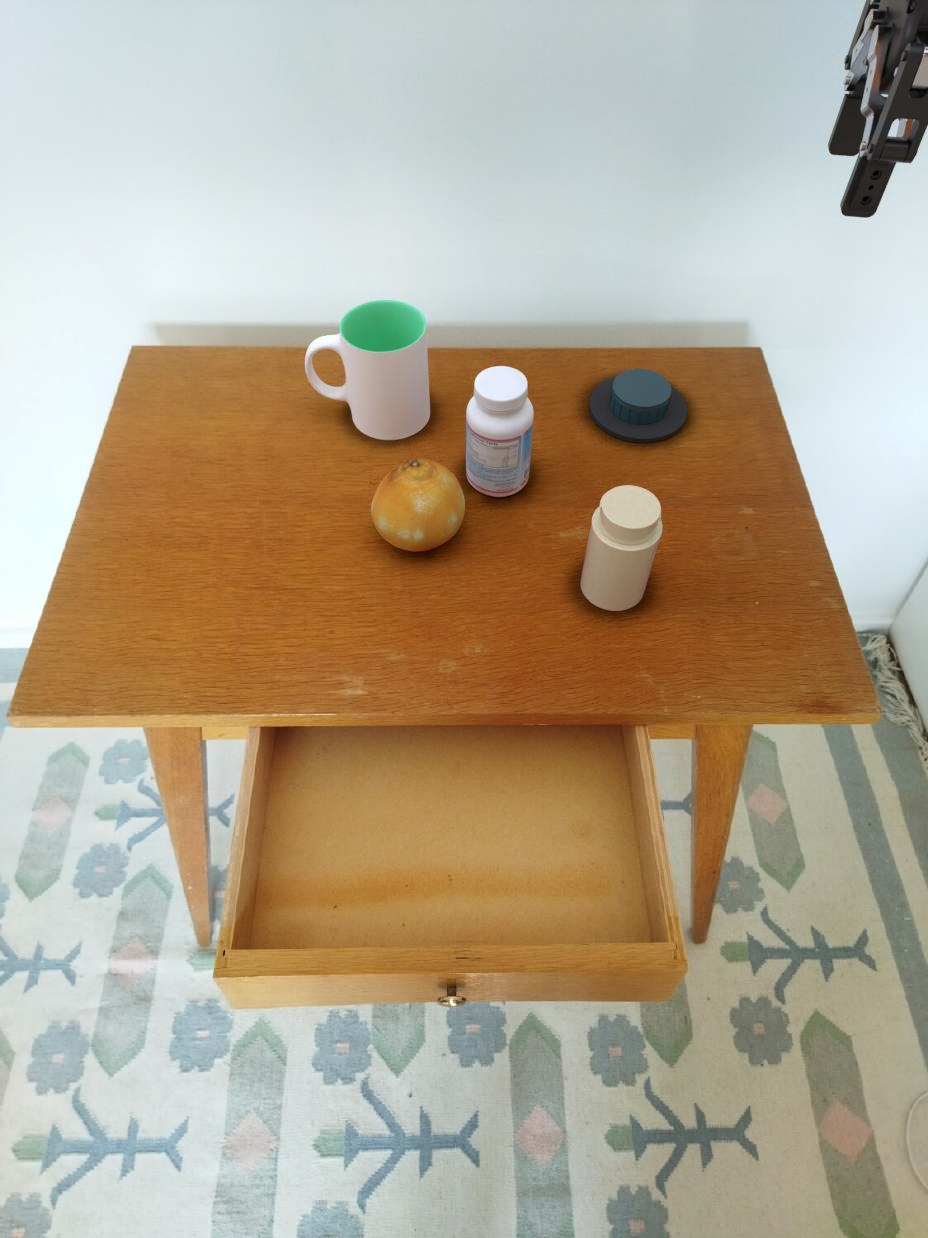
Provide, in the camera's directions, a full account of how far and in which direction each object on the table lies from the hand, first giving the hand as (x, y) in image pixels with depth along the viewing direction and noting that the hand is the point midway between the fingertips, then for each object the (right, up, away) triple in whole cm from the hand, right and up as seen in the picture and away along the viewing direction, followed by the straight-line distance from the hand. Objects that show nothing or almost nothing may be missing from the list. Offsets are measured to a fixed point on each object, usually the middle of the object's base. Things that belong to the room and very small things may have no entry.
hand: (848, 182), depth 57 cm
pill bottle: (-23, -17, +23) cm, 37 cm away
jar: (-14, -27, +15) cm, 34 cm away
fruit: (-31, -22, +19) cm, 42 cm away
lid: (-9, -7, +26) cm, 28 cm away
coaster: (-9, -8, +28) cm, 31 cm away
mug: (-36, -9, +28) cm, 47 cm away
